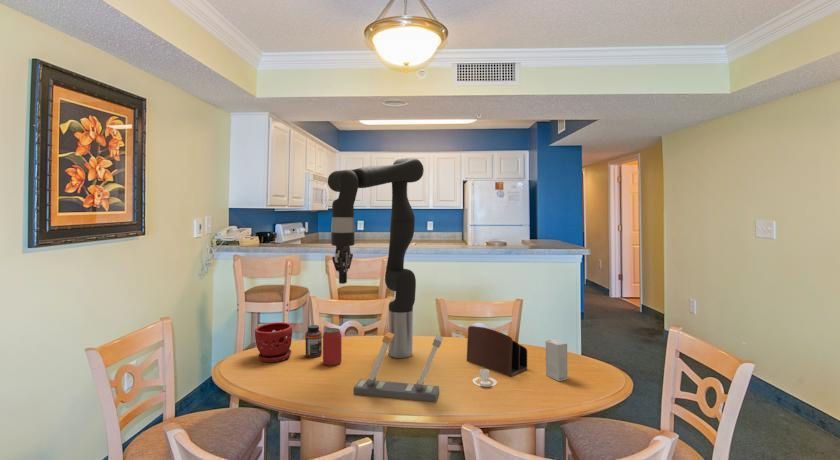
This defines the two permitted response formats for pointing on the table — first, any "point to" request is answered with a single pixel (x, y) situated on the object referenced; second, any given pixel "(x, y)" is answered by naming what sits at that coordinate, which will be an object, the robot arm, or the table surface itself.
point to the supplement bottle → (313, 341)
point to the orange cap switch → (380, 358)
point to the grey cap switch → (429, 362)
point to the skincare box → (556, 359)
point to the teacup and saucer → (484, 379)
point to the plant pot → (273, 341)
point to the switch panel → (397, 390)
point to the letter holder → (495, 351)
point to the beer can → (332, 346)
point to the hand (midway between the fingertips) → (342, 283)
